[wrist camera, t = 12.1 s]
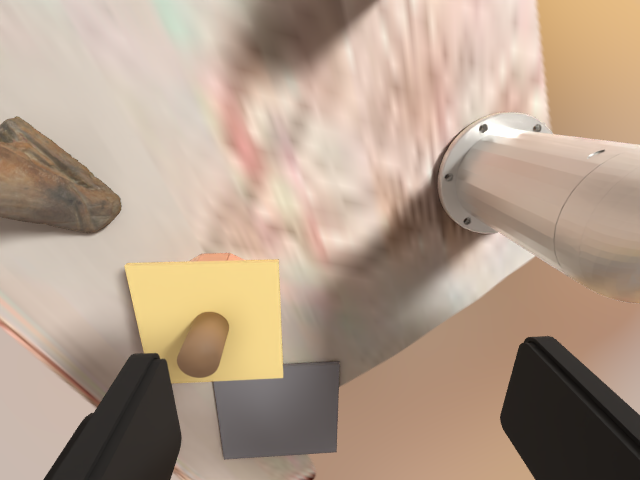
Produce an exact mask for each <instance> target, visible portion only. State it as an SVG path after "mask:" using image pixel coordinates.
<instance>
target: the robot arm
mask: <svg viewBox="0 0 640 480" xmlns="http://www.w3.org/2000/svg"><path fill="white" fill-rule="evenodd" d="M480 126H481V129H480V130H479V127H480ZM446 174H447V175H448V176H447V177H446V178H445V176H446ZM438 193H439V198H440V201H441V204H442V206H443V208H444V210H445V211H446V213H447V214H448V215H449V217H450V218H451V219H453V220H454V221H455V222H456V223H457V224H459V225H460V226H462V227H463V228H465V229H468V230H470V231H473V232H477V233H483V234H488V233H498V232H499V233H501V234H502V235H504V236H505V237H507V238H508V239H510V240H512V241H513V242H515V243H516V244H518V245H519V246H521V247H523V248H524V249H526V250H527V251H529V252H530V253H532V254H534V255H535V256H537V257H538V258H540V259H541V260H543V261H545V262H546V263H548V264H549V265H551V266H553V267H554V268H556V269H557V270H559V271H560V272H562V273H563V274H565V275H567V276H569V277H570V278H572V279H573V280H575V281H577V282H578V283H580V284H581V285H583V286H585V287H586V288H588V289H590V290H592V291H594V292H596V293H598V294H600V295H602V296H605V297H608V298H610V299H614V300H618V301H623V302H628V303H640V145H636V144H628V143H620V142H612V141H604V140H596V139H588V138H580V137H571V136H564V135H555V134H553V133H552V131H551V130H550V129H549V128H548V127H547V126H546V125H545V123H543V122H542V121H540V120H539V119H537V118H536V117H534V116H531V115H528V114H525V113H517V112H500V113H495V114H491V115H488V116H486V117H483V118H481V119H478V120H477V121H475V122H474V123H472V124H471V125H469V126H468V127H466V128H465V129H464V130H463V131H462V132H461V133H460V134H459V135H458V136H457V137H456V138H455V139H454V141H453V142H452V143H451V144H450V146H449V148H448V149H447V151H446V153H445V155H444V157H443V160H442V162H441V165H440V168H439V174H438ZM464 219H465V220H464ZM500 420H501V425H502V428H503V430H504V431H505V433H506V435H507V436H508V438H509V439H510V441H511V442H512V444H513V445H514V447H515V449H516V450H517V452H518V453H519V455H520V456H521V458H522V459H523V461H524V462H525V464H526V465H527V467H528V469H529V470H530V472H531V473H532V475H533V476H534V478H535V480H640V415H639V414H638V413H637V412H635V411H634V410H633V409H632V408H631V407H630V406H629V405H628V404H627V403H625V402H624V401H623V400H622V399H621V398H620V397H619V396H618V395H617V394H616V393H614V392H613V391H612V390H611V389H610V388H609V387H608V386H607V385H606V384H604V383H603V382H602V381H601V380H600V379H599V378H598V377H597V376H596V375H595V374H593V373H592V372H591V371H590V370H589V369H588V368H587V367H586V366H585V365H584V364H582V363H581V362H580V361H579V360H578V359H577V358H576V357H574V356H573V355H572V354H571V353H570V352H569V351H568V350H567V349H566V348H565V347H564V346H562V345H561V344H560V343H559V342H558V341H557V340H556V339H554V338H553V337H549V336H545V337H528V338H526V339H525V341H524V343H522V344H520V346H519V349H518V352H517V356H516V360H515V363H514V367H513V371H512V375H511V378H510V382H509V385H508V389H507V393H506V396H505V400H504V404H503V408H502V411H501V416H500ZM180 446H181V431H180V425H179V420H178V415H177V410H176V405H175V400H174V395H173V390H172V385H171V380H170V375H169V369H168V364H167V361H166V359H160V356H159V355H158V353H144V354H133V355H131V356H130V357H129V359H128V360H127V362H126V363H125V365H124V366H123V368H122V370H121V371H120V373H119V374H118V376H117V377H116V379H115V381H114V382H113V384H112V385H111V387H110V388H109V390H108V392H107V393H106V395H105V396H104V398H103V399H102V401H101V402H100V404H99V406H98V407H97V409H96V410H95V412H94V413H91V414H89V415H88V416H86V417H85V419H84V420H83V421H82V422H81V424H80V425H79V427H78V428H77V430H76V431H75V433H74V434H73V436H72V437H71V439H70V440H69V442H68V443H67V445H66V446H65V448H64V449H63V451H62V452H61V454H60V455H59V457H58V458H57V460H56V461H55V463H54V465H53V466H52V468H51V469H50V471H49V472H48V474H47V475H46V477H45V478H44V480H170V479H171V476H172V472H173V469H174V466H175V463H176V460H177V457H178V454H179V451H180Z"/></svg>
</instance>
